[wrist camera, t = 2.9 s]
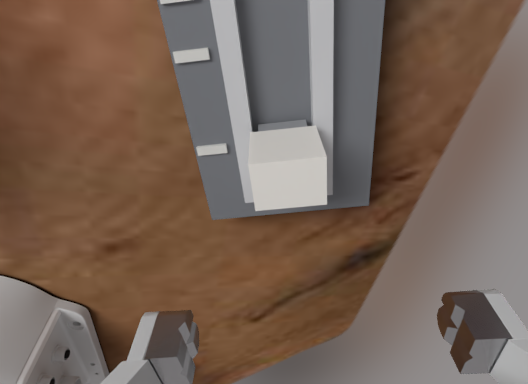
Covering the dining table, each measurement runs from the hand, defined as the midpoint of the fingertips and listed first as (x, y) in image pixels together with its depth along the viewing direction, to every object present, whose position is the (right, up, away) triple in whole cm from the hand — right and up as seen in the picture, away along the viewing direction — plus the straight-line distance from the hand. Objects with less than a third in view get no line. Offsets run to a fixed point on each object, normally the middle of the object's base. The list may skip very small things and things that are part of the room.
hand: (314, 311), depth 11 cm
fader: (0, +7, +11) cm, 13 cm away
